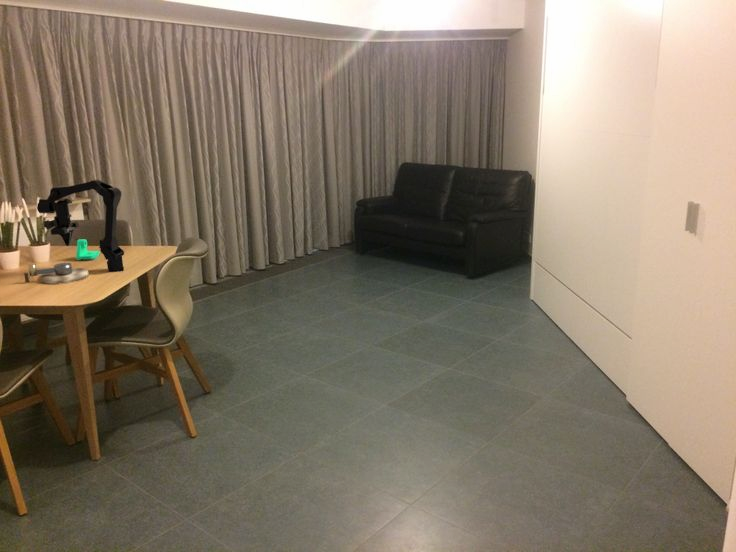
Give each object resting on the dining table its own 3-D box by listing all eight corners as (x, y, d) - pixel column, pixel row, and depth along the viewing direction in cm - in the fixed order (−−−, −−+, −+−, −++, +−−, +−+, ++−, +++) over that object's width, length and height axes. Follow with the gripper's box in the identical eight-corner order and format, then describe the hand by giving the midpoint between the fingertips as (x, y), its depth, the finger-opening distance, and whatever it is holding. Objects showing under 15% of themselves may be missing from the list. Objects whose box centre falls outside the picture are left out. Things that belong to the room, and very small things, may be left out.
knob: (72, 270, 265) (70, 258, 264) (72, 273, 260) (70, 261, 258) (30, 275, 258) (28, 263, 256) (29, 279, 252) (27, 266, 250)
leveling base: (89, 270, 274) (88, 262, 273) (87, 280, 256) (86, 272, 255) (28, 276, 265) (27, 268, 263) (22, 288, 247) (21, 279, 246)
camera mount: (92, 261, 293) (89, 241, 290) (77, 261, 292) (73, 242, 289) (100, 255, 304) (97, 236, 301) (85, 256, 303) (82, 237, 301)
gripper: (52, 210, 276) (57, 242, 280) (35, 217, 258) (41, 250, 262) (76, 210, 277) (81, 241, 282) (61, 216, 259) (67, 249, 264)
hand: (67, 245), depth 272 cm, fingers closed
